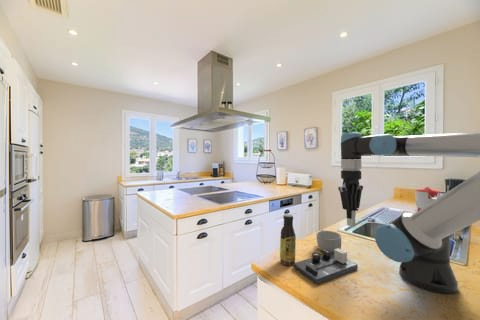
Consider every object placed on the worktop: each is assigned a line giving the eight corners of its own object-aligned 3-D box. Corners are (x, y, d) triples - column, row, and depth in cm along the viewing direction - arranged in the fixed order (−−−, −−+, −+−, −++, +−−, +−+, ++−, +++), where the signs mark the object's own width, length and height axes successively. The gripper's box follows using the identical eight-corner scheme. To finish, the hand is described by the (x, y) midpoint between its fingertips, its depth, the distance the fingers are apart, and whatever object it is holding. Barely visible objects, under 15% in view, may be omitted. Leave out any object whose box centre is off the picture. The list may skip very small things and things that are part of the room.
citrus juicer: (422, 213, 158) (422, 188, 158) (411, 208, 174) (411, 185, 174) (447, 215, 153) (447, 188, 153) (433, 209, 170) (433, 186, 170)
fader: (346, 262, 80) (346, 251, 80) (342, 263, 79) (342, 253, 79) (338, 257, 84) (338, 248, 84) (334, 259, 83) (334, 249, 83)
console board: (357, 269, 79) (357, 257, 79) (316, 284, 69) (316, 271, 69) (331, 256, 90) (331, 246, 90) (293, 268, 80) (293, 257, 80)
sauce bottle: (286, 268, 80) (286, 218, 80) (277, 261, 86) (276, 214, 86) (299, 264, 83) (298, 216, 83) (288, 257, 89) (288, 212, 89)
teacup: (344, 257, 89) (344, 239, 89) (318, 255, 91) (318, 237, 91) (336, 244, 102) (335, 228, 102) (313, 242, 104) (313, 227, 104)
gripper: (352, 169, 91) (352, 221, 91) (332, 169, 85) (332, 225, 85) (369, 169, 84) (369, 226, 84) (348, 170, 78) (349, 231, 78)
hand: (351, 225), depth 85 cm, fingers closed
